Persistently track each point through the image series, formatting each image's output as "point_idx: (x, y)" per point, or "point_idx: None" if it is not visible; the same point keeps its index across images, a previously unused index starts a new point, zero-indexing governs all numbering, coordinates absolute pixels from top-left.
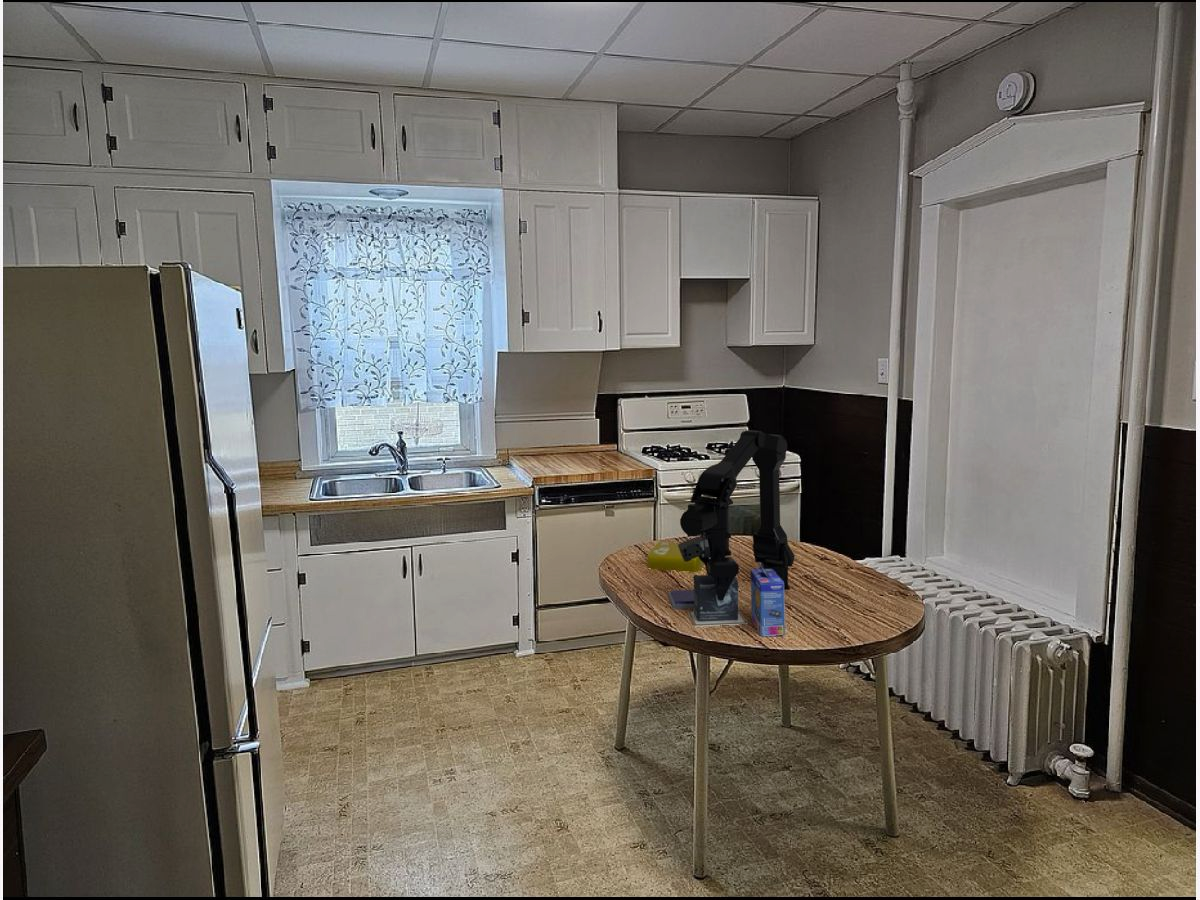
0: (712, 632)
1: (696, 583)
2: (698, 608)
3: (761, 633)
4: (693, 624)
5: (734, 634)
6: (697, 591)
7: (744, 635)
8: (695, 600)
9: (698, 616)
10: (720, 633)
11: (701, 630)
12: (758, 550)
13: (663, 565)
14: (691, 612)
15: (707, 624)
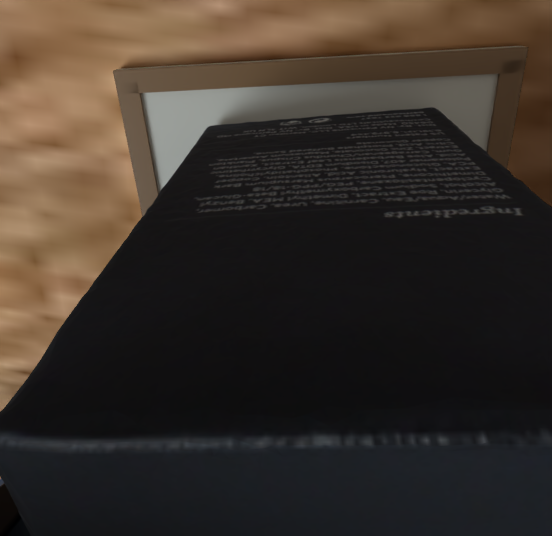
0: (20, 212)
1: (247, 344)
2: (179, 166)
3: (1, 480)
4: (160, 67)
5: (14, 346)
6: (164, 260)
7: (10, 394)
8: (346, 164)
9: (199, 139)
10: (12, 265)
11: (47, 127)
12: None
13: None
14: (482, 86)
15: (143, 197)
